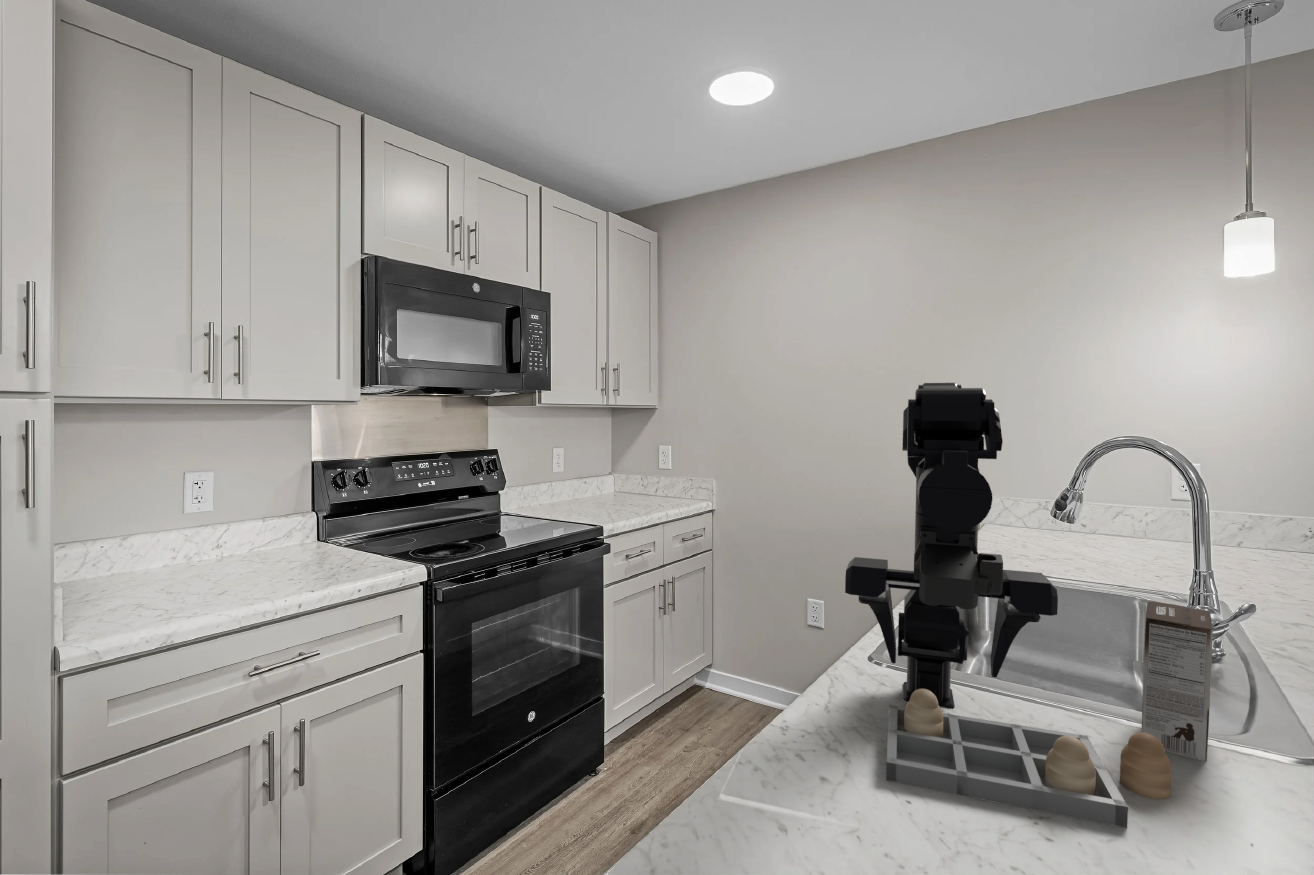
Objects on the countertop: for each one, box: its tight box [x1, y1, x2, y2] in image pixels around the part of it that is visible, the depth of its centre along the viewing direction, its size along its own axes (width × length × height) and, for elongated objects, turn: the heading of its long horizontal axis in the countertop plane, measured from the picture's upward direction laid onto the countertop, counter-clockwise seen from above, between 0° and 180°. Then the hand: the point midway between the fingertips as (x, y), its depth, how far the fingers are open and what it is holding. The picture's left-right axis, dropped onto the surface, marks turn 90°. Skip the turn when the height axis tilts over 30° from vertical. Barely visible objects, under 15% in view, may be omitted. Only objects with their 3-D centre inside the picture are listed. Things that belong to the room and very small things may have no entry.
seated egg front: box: [1045, 736, 1096, 796], centre depth 68 cm, size 4×4×6 cm
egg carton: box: [885, 704, 1129, 829], centre depth 74 cm, size 15×22×2 cm
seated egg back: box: [904, 689, 944, 738], centre depth 79 cm, size 4×4×6 cm
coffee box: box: [1141, 600, 1214, 762], centre depth 80 cm, size 9×6×16 cm
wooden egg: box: [1119, 731, 1173, 800], centre depth 70 cm, size 4×4×6 cm
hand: (942, 668), depth 65 cm, fingers open, 9 cm apart
